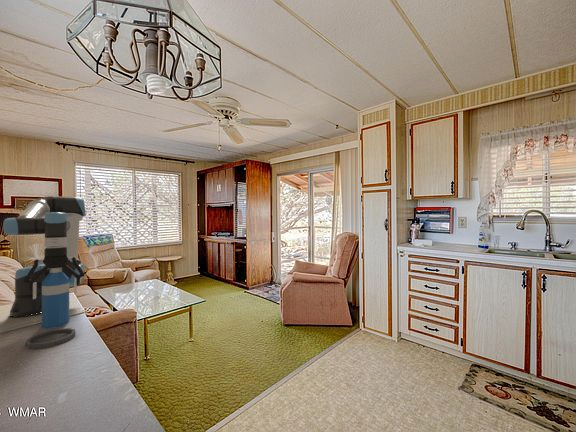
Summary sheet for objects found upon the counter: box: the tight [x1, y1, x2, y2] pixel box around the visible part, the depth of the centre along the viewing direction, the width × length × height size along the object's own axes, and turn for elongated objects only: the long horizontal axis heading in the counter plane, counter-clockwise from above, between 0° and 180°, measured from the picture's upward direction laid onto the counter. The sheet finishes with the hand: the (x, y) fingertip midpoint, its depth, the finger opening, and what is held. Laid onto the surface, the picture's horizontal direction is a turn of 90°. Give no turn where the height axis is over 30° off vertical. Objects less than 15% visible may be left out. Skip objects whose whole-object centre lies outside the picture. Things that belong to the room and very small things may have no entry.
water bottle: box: [41, 267, 70, 330], centre depth 117 cm, size 9×9×25 cm
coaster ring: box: [24, 327, 76, 350], centre depth 101 cm, size 14×14×2 cm
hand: (55, 295), depth 117 cm, fingers open, 13 cm apart
